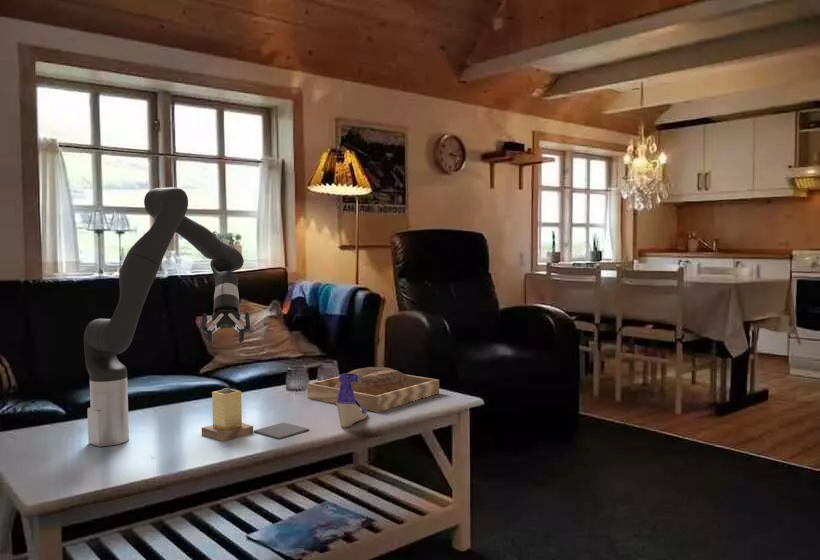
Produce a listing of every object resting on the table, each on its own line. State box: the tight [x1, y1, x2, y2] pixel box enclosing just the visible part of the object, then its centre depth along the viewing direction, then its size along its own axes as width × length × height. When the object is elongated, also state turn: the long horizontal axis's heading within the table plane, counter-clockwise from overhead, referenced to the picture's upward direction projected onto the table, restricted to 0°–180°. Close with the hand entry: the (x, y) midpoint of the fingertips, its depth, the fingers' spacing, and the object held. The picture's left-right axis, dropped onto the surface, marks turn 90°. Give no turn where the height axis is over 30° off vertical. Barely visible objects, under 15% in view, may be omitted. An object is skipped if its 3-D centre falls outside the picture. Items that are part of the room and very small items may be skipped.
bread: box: [335, 366, 412, 396], centre depth 234 cm, size 26×27×10 cm
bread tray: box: [306, 373, 440, 413], centre depth 233 cm, size 33×32×5 cm
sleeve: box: [211, 388, 243, 431], centre depth 187 cm, size 6×6×10 cm
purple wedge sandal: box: [335, 372, 368, 429], centre depth 201 cm, size 8×20×15 cm, turn 164°
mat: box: [253, 422, 310, 440], centre depth 190 cm, size 11×11×1 cm
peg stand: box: [201, 387, 254, 442], centre depth 187 cm, size 10×10×13 cm
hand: (225, 342), depth 199 cm, fingers open, 8 cm apart
